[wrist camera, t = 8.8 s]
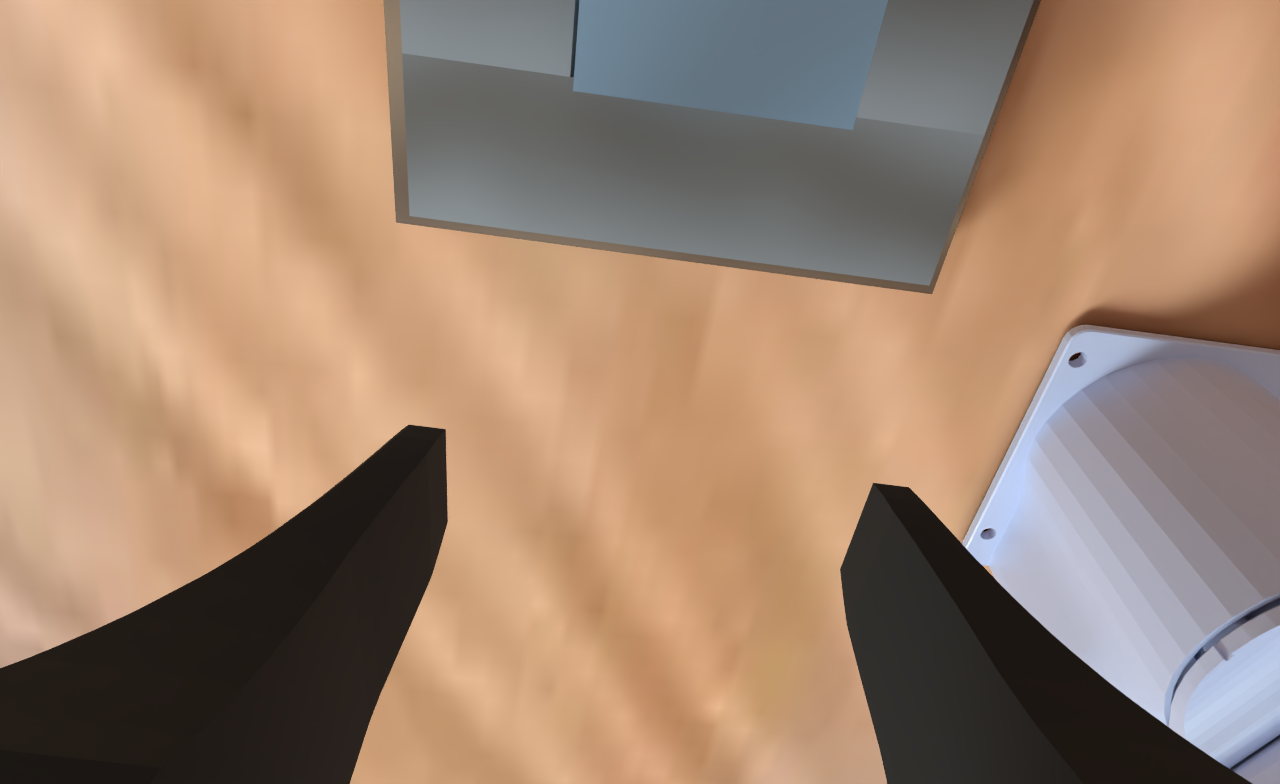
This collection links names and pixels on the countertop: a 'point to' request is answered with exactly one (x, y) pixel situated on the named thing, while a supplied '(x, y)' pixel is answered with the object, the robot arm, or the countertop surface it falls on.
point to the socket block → (696, 145)
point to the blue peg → (732, 55)
